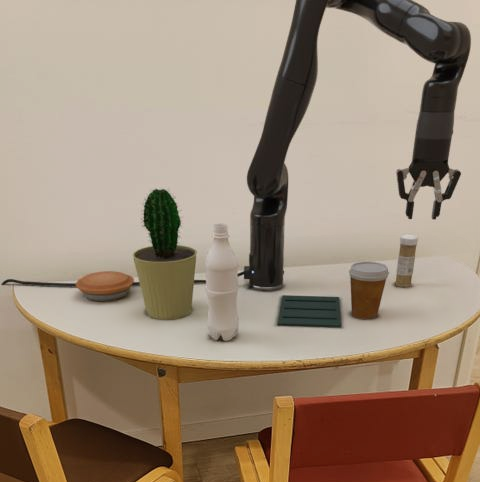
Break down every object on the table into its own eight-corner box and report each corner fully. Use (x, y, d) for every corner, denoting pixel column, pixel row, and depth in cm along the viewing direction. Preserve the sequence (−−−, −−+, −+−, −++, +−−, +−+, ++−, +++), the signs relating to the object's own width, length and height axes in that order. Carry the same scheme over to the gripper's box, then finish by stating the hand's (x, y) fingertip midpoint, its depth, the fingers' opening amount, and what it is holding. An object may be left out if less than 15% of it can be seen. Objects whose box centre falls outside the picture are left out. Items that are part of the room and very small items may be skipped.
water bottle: (207, 331, 141) (202, 221, 128) (237, 330, 141) (236, 220, 128) (208, 343, 135) (203, 229, 121) (240, 342, 135) (239, 228, 122)
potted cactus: (211, 307, 154) (207, 183, 138) (173, 327, 143) (163, 194, 127) (165, 296, 161) (156, 178, 146) (126, 314, 151) (111, 188, 135)
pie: (65, 300, 160) (62, 281, 157) (98, 282, 172) (96, 265, 170) (115, 307, 155) (113, 288, 152) (145, 288, 167) (143, 271, 165)
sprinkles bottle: (405, 281, 170) (411, 233, 163) (414, 286, 167) (421, 237, 160) (391, 283, 169) (397, 235, 162) (400, 288, 165) (407, 239, 158)
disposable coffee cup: (381, 308, 152) (387, 261, 146) (385, 322, 144) (392, 273, 138) (344, 307, 153) (348, 260, 147) (346, 321, 145) (350, 272, 139)
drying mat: (277, 325, 143) (277, 321, 143) (282, 297, 160) (282, 294, 160) (340, 327, 142) (341, 324, 141) (338, 298, 159) (339, 295, 158)
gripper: (464, 133, 129) (451, 215, 138) (397, 133, 130) (387, 214, 139) (472, 137, 123) (457, 223, 132) (400, 137, 124) (390, 222, 133)
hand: (421, 218), depth 135 cm, fingers open, 4 cm apart
